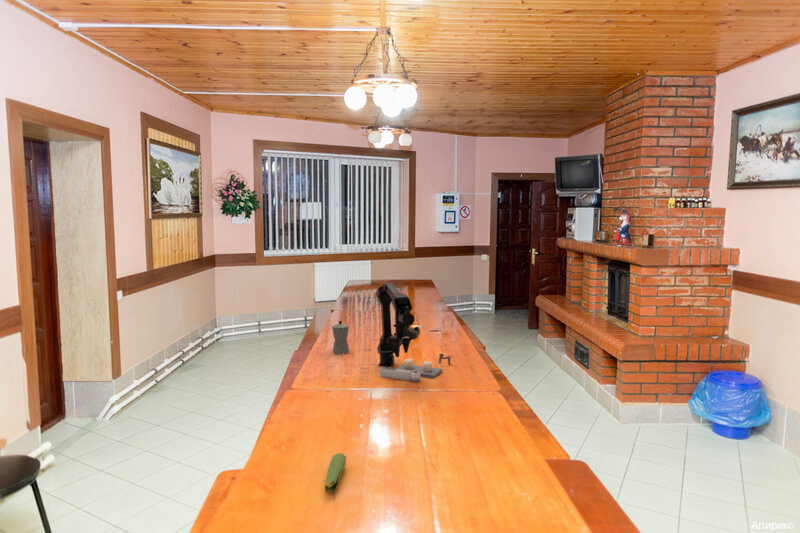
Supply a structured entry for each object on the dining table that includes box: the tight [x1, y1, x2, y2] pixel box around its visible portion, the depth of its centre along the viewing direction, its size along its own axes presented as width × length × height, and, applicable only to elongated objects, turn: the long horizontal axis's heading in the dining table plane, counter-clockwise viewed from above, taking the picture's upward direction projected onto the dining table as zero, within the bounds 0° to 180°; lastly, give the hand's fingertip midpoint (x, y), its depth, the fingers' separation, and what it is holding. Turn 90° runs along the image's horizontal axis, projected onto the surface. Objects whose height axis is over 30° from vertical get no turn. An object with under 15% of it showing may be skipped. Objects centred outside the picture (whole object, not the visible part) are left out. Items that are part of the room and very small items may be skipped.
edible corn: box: [324, 452, 347, 496], centre depth 152 cm, size 5×20×5 cm
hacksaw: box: [438, 353, 457, 368], centre depth 270 cm, size 24×10×2 cm, turn 174°
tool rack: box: [395, 358, 443, 379], centre depth 252 cm, size 21×11×6 cm, turn 64°
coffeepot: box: [331, 320, 350, 355], centre depth 290 cm, size 15×9×18 cm, turn 8°
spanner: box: [379, 366, 422, 383], centre depth 243 cm, size 20×5×4 cm, turn 64°
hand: (401, 355), depth 242 cm, fingers open, 9 cm apart
